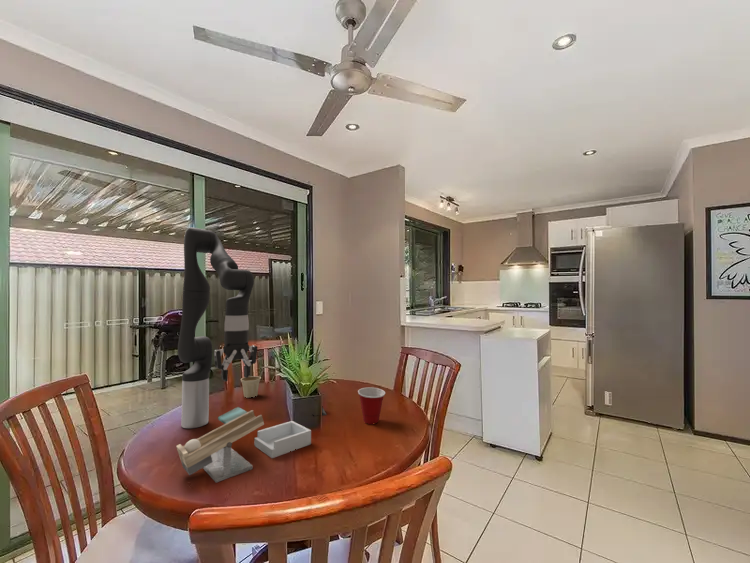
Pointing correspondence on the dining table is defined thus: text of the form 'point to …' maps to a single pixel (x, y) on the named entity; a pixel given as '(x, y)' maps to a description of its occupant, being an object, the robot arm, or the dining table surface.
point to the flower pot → (250, 386)
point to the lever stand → (226, 464)
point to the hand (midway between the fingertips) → (235, 378)
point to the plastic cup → (371, 403)
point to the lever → (219, 438)
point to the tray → (282, 438)
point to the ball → (192, 445)
